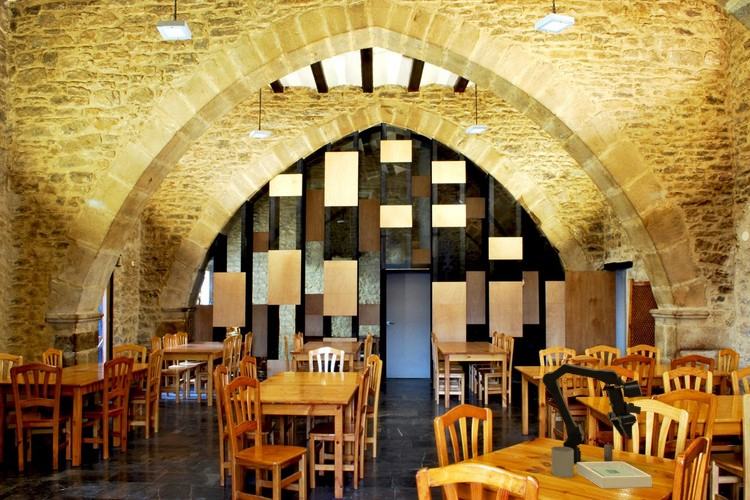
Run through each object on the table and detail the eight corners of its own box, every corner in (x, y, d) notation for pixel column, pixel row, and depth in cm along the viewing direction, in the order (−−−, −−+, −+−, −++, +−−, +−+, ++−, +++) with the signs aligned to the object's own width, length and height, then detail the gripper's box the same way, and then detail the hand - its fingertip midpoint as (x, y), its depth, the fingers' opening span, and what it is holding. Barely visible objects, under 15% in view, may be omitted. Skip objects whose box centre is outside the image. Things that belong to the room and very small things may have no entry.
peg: (606, 468, 248) (606, 446, 249) (602, 466, 251) (602, 444, 252) (614, 468, 248) (613, 446, 249) (610, 466, 251) (609, 444, 252)
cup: (573, 472, 241) (573, 447, 242) (573, 478, 233) (573, 452, 234) (552, 470, 244) (552, 445, 245) (551, 476, 236) (551, 450, 237)
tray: (601, 488, 222) (601, 477, 222) (576, 472, 242) (576, 462, 242) (651, 487, 224) (651, 476, 225) (622, 471, 244) (622, 461, 244)
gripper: (644, 398, 242) (654, 437, 239) (627, 394, 260) (637, 430, 257) (617, 403, 242) (627, 442, 239) (602, 399, 260) (611, 435, 258)
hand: (626, 437), depth 248 cm, fingers open, 9 cm apart
